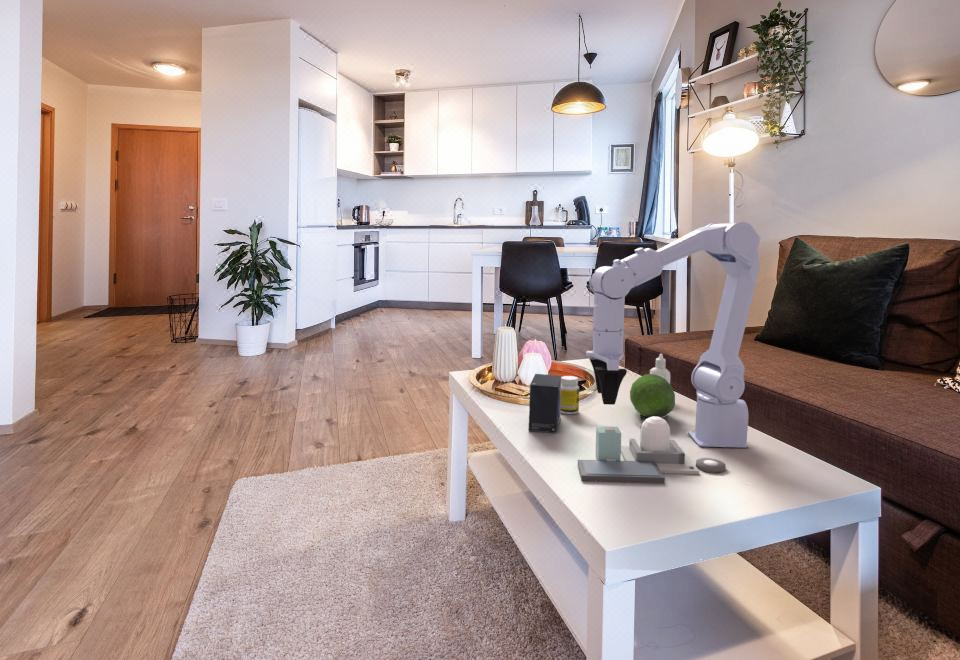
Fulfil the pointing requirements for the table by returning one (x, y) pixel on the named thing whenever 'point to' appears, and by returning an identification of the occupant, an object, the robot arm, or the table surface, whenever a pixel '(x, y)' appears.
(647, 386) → the fruit
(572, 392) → the supplement bottle
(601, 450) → the plug block
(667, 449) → the capsule
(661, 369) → the eye dropper bottle
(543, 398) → the small box
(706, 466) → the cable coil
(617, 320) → the robot arm
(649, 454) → the grey piece
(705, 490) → the table surface
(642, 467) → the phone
